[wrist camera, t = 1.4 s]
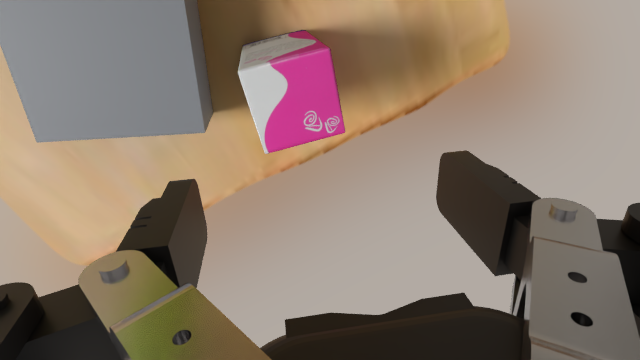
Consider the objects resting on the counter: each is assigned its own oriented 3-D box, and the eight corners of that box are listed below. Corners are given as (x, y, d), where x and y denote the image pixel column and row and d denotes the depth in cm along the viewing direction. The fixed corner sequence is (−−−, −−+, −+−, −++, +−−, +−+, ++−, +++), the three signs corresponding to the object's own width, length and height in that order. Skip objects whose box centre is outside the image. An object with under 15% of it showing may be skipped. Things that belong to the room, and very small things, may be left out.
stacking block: (23, -40, 27) (-35, -50, 22) (191, -40, 28) (176, -49, 23) (73, 118, 32) (36, 142, 27) (213, 111, 34) (204, 132, 28)
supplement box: (261, 110, 34) (261, 156, 24) (241, 44, 31) (232, 65, 21) (321, 94, 34) (347, 134, 24) (307, 28, 32) (329, 41, 21)
